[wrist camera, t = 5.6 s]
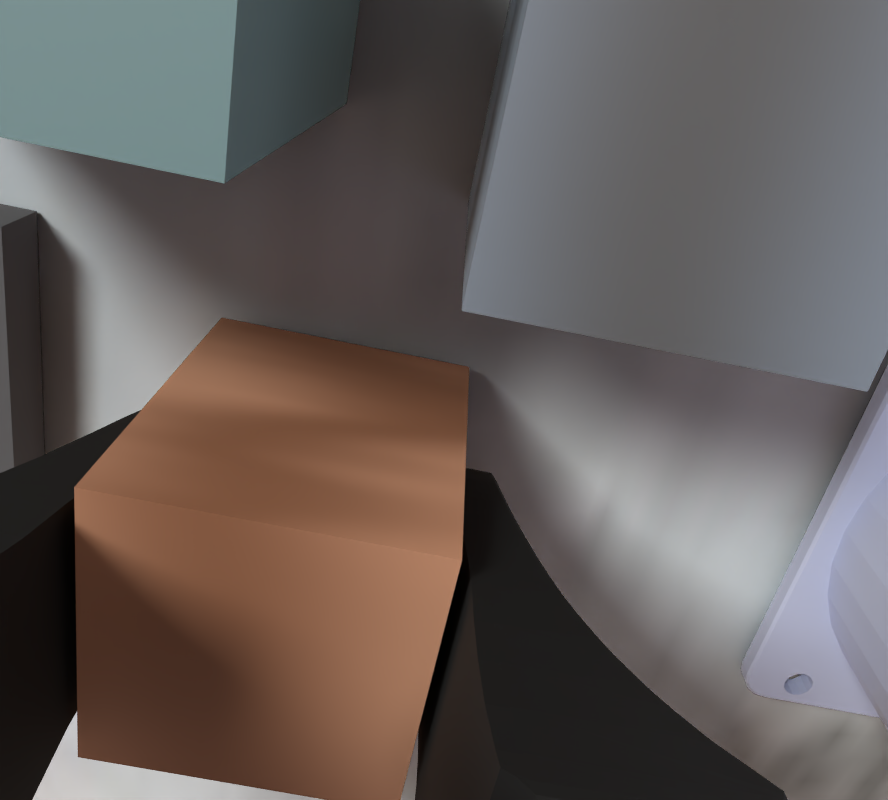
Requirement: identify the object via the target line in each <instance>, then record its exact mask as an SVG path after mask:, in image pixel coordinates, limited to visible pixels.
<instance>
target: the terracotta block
mask: <svg viewBox="0 0 888 800" xmlns="http://www.w3.org/2000/svg"><path fill="white" fill-rule="evenodd" d="M468 391H469V367H467V366H462V365H457V364H452V363H447V362H442V361H437V360H432V359H427V358H422V357H417V356H412V355H407V354H402V353H397V352H392V351H387V350H382V349H377V348H372V347H367V346H362V345H357V344H352V343H347V342H342V341H337V340H332V339H327V338H322V337H317V336H312V335H307V334H302V333H297V332H292V331H287V330H282V329H277V328H271V327H266V326H261V325H256V324H251V323H246V322H241V321H236V320H231V319H226V318H221V319H220V320H219V321H218V322H217V324H216V325H215V326H214V327H213V328H212V329H211V330H210V332H209V333H208V334H207V335H206V336H205V337H204V338H203V340H202V341H201V342H200V343H199V344H198V345H197V347H196V348H195V349H194V350H193V351H192V352H191V353H190V355H189V356H188V357H187V358H186V359H185V360H184V362H183V363H182V364H181V365H180V366H179V367H178V368H177V370H176V371H175V372H174V373H173V374H172V375H171V376H170V378H169V379H168V380H167V381H166V382H165V383H164V385H163V386H162V387H161V388H160V389H159V390H158V391H157V393H156V394H155V395H154V396H153V397H152V398H151V400H150V401H149V402H148V403H147V404H146V405H145V406H144V408H143V409H142V410H141V411H140V412H139V413H138V414H137V416H136V417H135V418H134V419H133V420H132V421H131V423H130V424H129V425H128V426H127V427H126V428H125V429H124V431H123V432H122V433H121V434H120V435H119V436H118V437H117V439H116V440H115V441H114V442H113V443H112V444H111V446H110V447H109V448H108V449H107V450H106V451H105V452H104V454H103V455H102V456H101V457H100V458H99V459H98V461H97V462H96V463H95V464H94V465H93V466H92V467H91V469H90V470H89V471H88V472H87V473H86V474H85V475H84V477H83V478H82V479H81V480H80V481H79V482H78V484H77V485H76V486H75V487H74V508H75V580H76V653H77V725H78V757H81V758H87V759H93V760H98V761H104V762H110V763H116V764H122V765H128V766H133V767H139V768H145V769H151V770H157V771H162V772H168V773H174V774H180V775H186V776H191V777H197V778H203V779H209V780H215V781H220V782H226V783H232V784H238V785H244V786H249V787H255V788H261V789H267V790H273V791H279V792H284V793H290V794H296V795H302V796H308V797H313V798H319V799H325V800H400V799H401V795H402V791H403V787H404V784H405V780H406V776H407V772H408V768H409V764H410V760H411V756H412V753H413V749H414V745H415V741H416V737H417V733H418V729H419V725H420V721H421V718H422V714H423V710H424V706H425V702H426V698H427V694H428V690H429V687H430V683H431V679H432V675H433V671H434V667H435V663H436V659H437V656H438V652H439V648H440V644H441V640H442V636H443V632H444V628H445V624H446V621H447V617H448V613H449V609H450V605H451V601H452V597H453V593H454V590H455V586H456V582H457V578H458V574H459V570H460V566H461V562H462V549H463V523H464V496H465V470H466V444H467V417H468Z"/></svg>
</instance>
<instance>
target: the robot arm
mask: <svg viewBox="0 0 888 800" xmlns="http://www.w3.org/2000/svg"><path fill="white" fill-rule="evenodd" d="M140 411H141V410H140ZM140 411H138V412H135V413H133V414H131V415H129V416H126V417H124V418H122V419H120V420H118V421H116V422H114V423H111V424H109V425H107V426H105V427H103V428H101V429H99V430H97V431H95V432H93V433H91V434H88V435H86V436H84V437H82V438H80V439H78V440H75V441H73V442H71V443H69V444H67V445H65V446H63V447H60V448H58V449H56V450H54V451H52V452H50V453H47V454H45V455H43V456H40V457H38V458H36V459H33V460H31V461H28V462H26V463H23V464H21V465H19V466H16V467H14V468H11V469H9V470H6V471H4V472H1V473H0V800H32V799H33V797H34V795H35V793H36V790H37V788H38V786H39V784H40V782H41V780H42V778H43V776H44V774H45V772H46V770H47V768H48V766H49V764H50V762H51V760H52V758H53V756H54V754H55V752H56V750H57V748H58V746H59V744H60V742H61V740H62V738H63V736H64V733H65V731H66V729H67V727H68V726H69V724H70V722H71V720H72V719H73V717H74V715H75V713H76V712H77V653H76V580H75V508H74V487H75V486H76V485H77V484H78V482H79V481H80V480H81V479H82V478H83V477H84V475H85V474H86V473H87V472H88V471H89V470H90V469H91V467H92V466H93V465H94V464H95V463H96V462H97V461H98V459H99V458H100V457H101V456H102V455H103V454H104V452H105V451H106V450H107V449H108V448H109V447H110V446H111V444H112V443H113V442H114V441H115V440H116V439H117V437H118V436H119V435H120V434H121V433H122V432H123V431H124V429H125V428H126V427H127V426H128V425H129V424H130V423H131V421H132V420H133V419H134V418H135V417H136V416H137V414H138V413H139V412H140ZM741 672H742V675H743V678H744V680H745V683H746V685H747V688H748V689H749V690H750V691H752V692H753V693H754V694H757V695H759V696H762V697H767V698H773V699H778V700H784V701H789V702H795V703H801V704H806V705H812V706H817V707H823V708H828V709H834V710H839V711H845V712H850V713H856V714H861V715H867V716H872V717H878V718H880V719H881V721H882V722H883V724H884V726H885V728H886V729H887V731H888V365H887V367H886V369H885V371H884V373H883V375H882V377H881V379H880V381H879V383H878V385H877V387H876V389H875V391H874V394H873V396H872V398H871V400H870V402H869V404H868V406H867V408H866V410H865V412H864V414H863V416H862V418H861V420H860V422H859V424H858V426H857V428H856V430H855V432H854V434H853V436H852V438H851V441H850V443H849V445H848V447H847V449H846V451H845V453H844V455H843V457H842V459H841V461H840V463H839V465H838V467H837V469H836V471H835V473H834V475H833V477H832V479H831V481H830V483H829V485H828V488H827V490H826V492H825V494H824V496H823V498H822V500H821V502H820V504H819V506H818V508H817V510H816V512H815V514H814V516H813V518H812V520H811V522H810V524H809V526H808V528H807V530H806V532H805V534H804V537H803V539H802V541H801V543H800V545H799V547H798V549H797V551H796V553H795V555H794V557H793V559H792V561H791V563H790V565H789V567H788V569H787V571H786V573H785V575H784V577H783V579H782V581H781V584H780V586H779V588H778V590H777V592H776V594H775V596H774V598H773V600H772V602H771V604H770V606H769V608H768V610H767V612H766V614H765V616H764V618H763V620H762V622H761V624H760V626H759V628H758V631H757V633H756V635H755V637H754V639H753V641H752V643H751V645H750V647H749V649H748V651H747V653H746V655H745V657H744V659H743V661H742V665H741ZM796 674H801V675H800V676H798V677H796V678H793V679H788V678H789V677H791V676H793V675H796ZM415 800H788V799H787V797H786V795H785V793H784V791H783V790H781V789H780V788H778V787H777V786H775V785H774V784H773V783H771V782H770V781H768V780H767V779H765V778H764V777H763V776H761V775H760V774H758V773H757V772H755V771H754V770H753V769H751V768H750V767H748V766H747V765H745V764H744V763H742V762H741V761H740V760H738V759H737V758H735V757H734V756H732V755H731V754H730V753H728V752H727V751H725V750H724V749H722V748H721V747H720V746H718V745H717V744H715V743H714V742H713V741H711V740H710V739H709V738H707V737H706V736H705V735H704V734H702V733H701V732H700V731H699V730H697V729H696V728H695V727H694V726H692V725H691V724H690V723H689V722H687V721H686V720H685V719H684V718H683V717H681V716H680V715H679V714H678V713H676V712H675V711H674V710H673V709H671V708H670V707H669V706H668V705H667V704H666V703H664V702H663V701H662V700H661V699H660V698H659V697H658V696H657V695H655V694H654V693H653V692H652V691H651V690H650V689H649V688H647V687H646V686H645V685H644V684H643V683H642V682H641V681H640V680H639V679H638V678H637V677H636V676H635V675H634V674H633V673H632V672H631V671H630V670H629V669H628V668H627V667H626V666H625V665H624V664H623V663H622V662H621V661H619V660H618V659H617V658H616V657H615V656H614V654H613V653H612V652H611V651H610V650H609V649H608V648H607V647H606V646H605V645H604V644H603V643H602V642H601V641H600V640H599V639H598V637H597V636H596V635H595V634H594V633H593V632H592V630H591V629H590V628H589V627H588V626H587V625H586V623H585V622H584V621H583V620H582V619H581V618H580V616H579V615H578V614H577V613H576V612H575V611H574V609H573V608H572V607H571V605H570V604H569V603H568V602H567V600H566V599H565V598H564V596H563V595H562V594H561V592H560V591H559V589H558V588H557V587H556V585H555V584H554V582H553V581H552V579H551V578H550V577H549V575H548V573H547V572H546V570H545V569H544V567H543V566H542V564H541V563H540V561H539V559H538V558H537V556H536V554H535V553H534V551H533V549H532V548H531V546H530V544H529V543H528V541H527V539H526V538H525V536H524V534H523V533H522V531H521V529H520V527H519V525H518V524H517V522H516V520H515V518H514V516H513V514H512V512H511V510H510V508H509V506H508V504H507V502H506V500H505V498H504V496H503V494H502V492H501V490H500V488H499V486H498V484H497V482H496V480H495V478H494V477H493V475H492V474H491V473H488V472H483V471H478V470H473V469H467V468H466V470H465V496H464V523H463V549H462V562H461V566H460V570H459V574H458V578H457V582H456V586H455V590H454V593H453V597H452V601H451V605H450V609H449V613H448V617H447V621H446V624H445V628H444V632H443V636H442V640H441V644H440V648H439V652H438V656H437V659H436V663H435V667H434V671H433V675H432V679H431V683H430V687H429V690H428V694H427V698H426V702H425V706H424V710H423V714H422V718H421V721H420V725H419V729H418V767H417V785H416V795H415Z"/></svg>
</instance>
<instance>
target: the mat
mask: <svg viewBox="0 0 888 800" xmlns="http://www.w3.org/2000/svg"><path fill="white" fill-rule="evenodd" d="M43 455H45V453H44V423H43V392H42V362H41V331H40V301H39V270H38V240H37V211H32V210H27V209H22V208H18V207H13V206H8V205H3V204H0V473H1V472H4V471H6V470H9V469H11V468H14V467H16V466H19V465H21V464H23V463H26V462H28V461H31V460H33V459H36V458H38V457H40V456H43Z"/></svg>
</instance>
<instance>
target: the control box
mask: <svg viewBox="0 0 888 800" xmlns="http://www.w3.org/2000/svg"><path fill="white" fill-rule="evenodd" d="M359 5H360V0H0V137H2V138H7V139H11V140H16V141H21V142H26V143H31V144H36V145H40V146H45V147H50V148H55V149H60V150H65V151H70V152H74V153H79V154H84V155H89V156H94V157H99V158H103V159H108V160H113V161H118V162H123V163H128V164H132V165H137V166H142V167H147V168H152V169H157V170H161V171H166V172H171V173H176V174H181V175H186V176H191V177H195V178H200V179H205V180H210V181H215V182H220V183H226V182H227V181H229V180H230V179H232V178H233V177H235V176H237V175H238V174H240V173H241V172H243V171H244V170H246V169H247V168H249V167H250V166H252V165H253V164H255V163H256V162H258V161H260V160H261V159H263V158H264V157H266V156H267V155H269V154H270V153H272V152H273V151H275V150H276V149H278V148H279V147H281V146H283V145H284V144H286V143H287V142H289V141H290V140H292V139H293V138H295V137H296V136H298V135H299V134H301V133H302V132H304V131H306V130H307V129H309V128H310V127H312V126H313V125H315V124H316V123H318V122H319V121H321V120H322V119H324V118H325V117H327V116H328V115H330V114H332V113H333V112H335V111H336V110H338V109H339V108H341V107H342V106H344V105H345V104H346V103H347V95H348V88H349V80H350V73H351V65H352V58H353V50H354V43H355V35H356V28H357V20H358V13H359Z"/></svg>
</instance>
